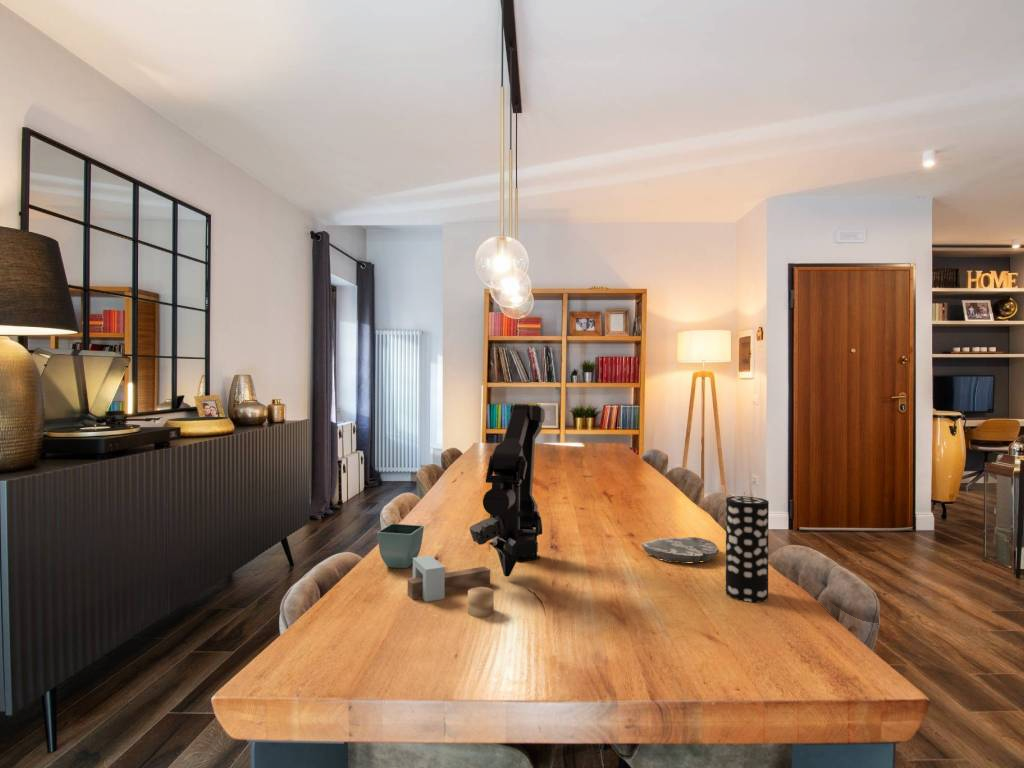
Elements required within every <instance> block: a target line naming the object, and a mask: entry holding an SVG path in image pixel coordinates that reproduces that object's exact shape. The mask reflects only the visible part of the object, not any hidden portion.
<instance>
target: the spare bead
mask: <svg viewBox="0 0 1024 768" xmlns="http://www.w3.org/2000/svg"><path fill="white" fill-rule="evenodd" d="M494 591H495V590H494V589H493V588H490V587H486V586H482V587H476V588H471V589H467V614H468V615H469V616H471V617H473V618H475V617H476V618H486V617H490V616H492V615H493V614H494V611H495V609H494V608H495V605H494V604H495V599H494V598H495V592H494Z"/></svg>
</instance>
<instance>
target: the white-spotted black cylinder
mask: <svg viewBox="0 0 1024 768" xmlns="http://www.w3.org/2000/svg"><path fill="white" fill-rule="evenodd" d="M769 506H770V505H769V500H767V499H765V498H761V497H754V496H743V495H741V496H739V495H736V496H735V495H734V496H728V497H726V498H725V595H727V596H728V595H729V596H730V597H729V596H728V597H729V598H731V597H732V598H731V599H734V598H735V599H734V600H736V599H738V600H737V601H740V600H742V602H745V601H749V602H748V603H758V602H757V601H763V602H765V601H764V600H766V599H767V598H768V599H769ZM768 599H767V600H768ZM767 600H766V601H767Z"/></svg>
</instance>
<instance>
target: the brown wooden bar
mask: <svg viewBox="0 0 1024 768" xmlns="http://www.w3.org/2000/svg"><path fill="white" fill-rule="evenodd" d="M486 586H491V569H489V568H488V567H486V566H479V567H474V568H469V569H468V568H467V569H461V570H457V571H451V572H450V571H449V572H445V587H444V595H446V594H449V593H455V592H460V591H465V590H470V589H472V588H476V587H486ZM407 596H408V597H409V598H410V599H411V600H413V601H414V600H417V599H423V577H419V578H413V577H412V578H408V579H407Z"/></svg>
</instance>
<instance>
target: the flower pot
mask: <svg viewBox="0 0 1024 768" xmlns="http://www.w3.org/2000/svg"><path fill="white" fill-rule="evenodd" d="M424 527H425V526H424V525H420V524H417V525H416V524H405V523H404V524H402V523H390V524H388V525H387V526H385V527H383V528H382V529H379V530H378V531H377V532H376V534H377V540H378V541H377V542H378V549H379V550H378V551H379V554H380V558H381V559H382V561H383V563H384V564H385V566H386V567H387V568H397V569H408V568H409V567H410V566H411V565H413V558H415V557H419V554H420V551H421V548H422V544H423V543H422V542H423V538H424V537H423V535H424Z"/></svg>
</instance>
